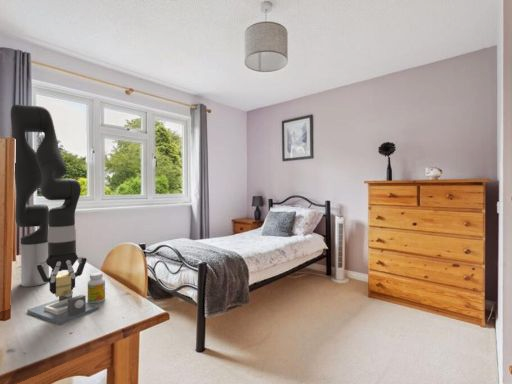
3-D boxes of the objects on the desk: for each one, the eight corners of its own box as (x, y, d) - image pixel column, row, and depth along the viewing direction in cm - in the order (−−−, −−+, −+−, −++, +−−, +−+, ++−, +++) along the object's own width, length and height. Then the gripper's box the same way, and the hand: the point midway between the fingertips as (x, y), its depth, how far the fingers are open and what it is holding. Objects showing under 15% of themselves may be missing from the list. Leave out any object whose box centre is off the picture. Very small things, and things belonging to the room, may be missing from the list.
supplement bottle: (85, 304, 95) (85, 276, 95) (90, 298, 101) (90, 272, 100) (102, 302, 97) (102, 275, 97) (106, 296, 102) (106, 270, 102)
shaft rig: (27, 312, 89) (27, 295, 89) (66, 299, 100) (66, 283, 100) (59, 325, 81) (59, 305, 81) (98, 309, 92) (98, 291, 92)
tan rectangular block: (56, 297, 87) (55, 278, 87) (54, 293, 90) (53, 275, 90) (71, 293, 90) (71, 275, 90) (68, 290, 93) (68, 272, 93)
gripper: (35, 244, 82) (36, 301, 82) (89, 238, 92) (90, 288, 92) (33, 240, 87) (33, 294, 88) (84, 235, 97) (84, 283, 98)
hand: (62, 291), depth 90 cm, fingers closed on tan rectangular block, 4 cm apart
